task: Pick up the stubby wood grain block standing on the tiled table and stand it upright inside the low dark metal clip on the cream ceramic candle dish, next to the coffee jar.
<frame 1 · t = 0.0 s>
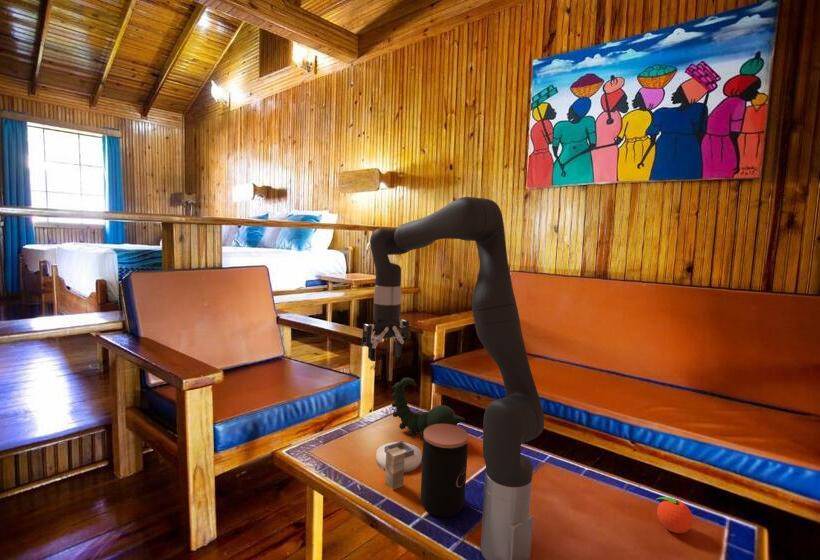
hand: (385, 358, 122), 29 cm above the table, fingers open, 8 cm apart
candle dish: (398, 459, 124), on the table
clementine: (670, 529, 99), on the table
coffee jar: (442, 504, 105), on the table
toy figurine: (426, 436, 139), on the table
wood grain block: (394, 484, 112), on the table
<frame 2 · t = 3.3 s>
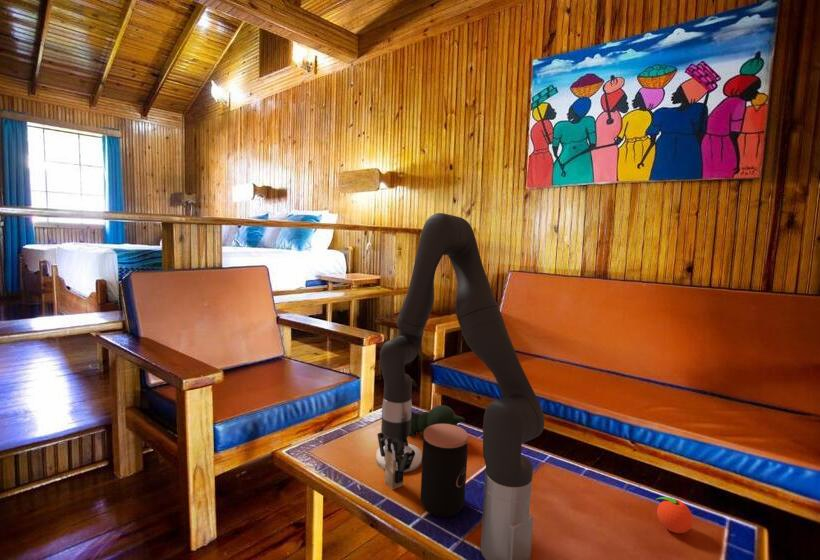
hand: (394, 478, 112), 2 cm above the table, fingers closed on wood grain block, 3 cm apart
wood grain block: (393, 484, 112), on the table, touching gripper
everything else where it was.
when the fingers open (5 cm above the table, at t = 9.3 s): wood grain block stays where it is, resting on candle dish.
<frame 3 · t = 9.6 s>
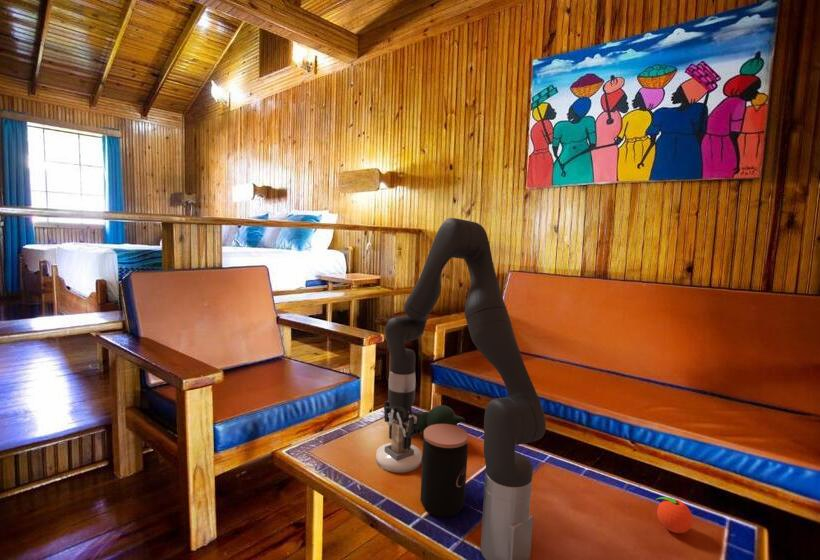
hand: (399, 442, 123), 5 cm above the table, fingers open, 6 cm apart
wood grain block: (399, 453, 124), point 2 cm above the table, touching candle dish
everything else where it was.
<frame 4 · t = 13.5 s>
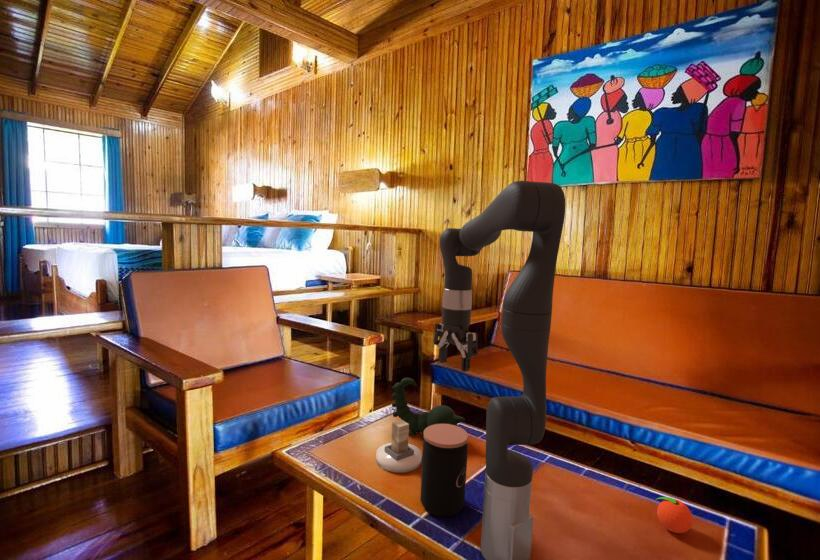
hand: (453, 366, 114), 30 cm above the table, fingers open, 8 cm apart
nothing on the table moved.
at the end: wood grain block 0.1 cm off-centre on the candle dish, point 2.0 cm above the candle dish's base; wood grain block tilted 0°; the gripper is holding nothing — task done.
